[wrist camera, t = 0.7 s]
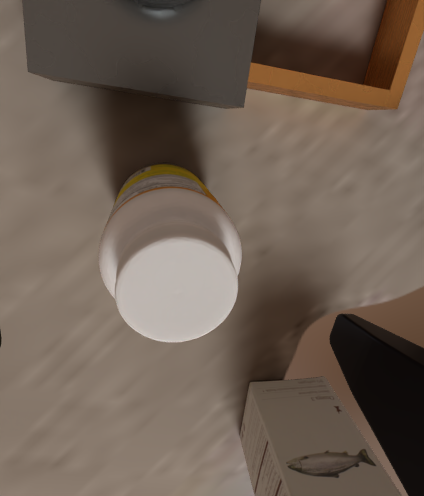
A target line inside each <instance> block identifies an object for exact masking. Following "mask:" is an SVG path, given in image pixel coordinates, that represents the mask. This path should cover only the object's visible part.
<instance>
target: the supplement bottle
mask: <svg viewBox="0 0 424 496" xmlns="http://www.w3.org/2000/svg"><path fill="white" fill-rule="evenodd" d="M241 259H242V248H241V241H240V237H239V234H238V232H237V229H236V227H235V225H234V223H233V222H232V220H231V219H230V217H229V216H228V214H227V213H226V212H225V210H224V209H223V208H222V207H221V205H220V204H219V203H218V201H217V200H216V198H214V197H213V195H212V194H211V193H210V192H209V190H208V189H207V188H206V187H205V186H204V184H203V183H202V182H201V181H200V179H199V178H198V177H197V176H196V175H195V174H193V173H192V172H190V171H189V170H187V169H185V168H183V167H181V166H178V165H175V164H170V163H156V164H151V165H148V166H145V167H143V168H141V169H139V170H137V171H136V172H134V173H133V174H132V175H131V176H130V177H129V178H128V179H127V180H126V182H125V183H124V184H123V186H122V188H121V190H120V192H119V194H118V196H117V198H116V201H115V204H114V206H113V209H112V211H111V214H110V217H109V219H108V221H107V224H106V226H105V229H104V232H103V234H102V238H101V241H100V247H99V268H100V273H101V275H102V279H103V281H104V284H105V285H106V287H107V289H108V291H109V292H110V293H111V295H112V296H113V297H114V298H115V300H116V304H117V307H118V310H119V312H120V314H121V316H122V317H123V319H124V320H125V321H126V323H127V324H128V325H129V326H130V327H131V328H133V329H134V330H135V331H137V332H138V333H140V334H142V335H143V336H145V337H148V338H150V339H154V340H157V341H163V342H182V341H188V340H192V339H195V338H198V337H201V336H203V335H205V334H207V333H209V332H210V331H212V330H213V329H215V328H216V327H217V326H218V325H219V324H221V323H222V322H223V321H224V320H225V318H226V317H227V316H228V314H229V313H230V311H231V310H232V308H233V306H234V303H235V301H236V297H237V293H238V278H237V276H238V274H239V270H240V266H241Z"/></svg>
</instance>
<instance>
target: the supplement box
mask: <svg viewBox="0 0 424 496" xmlns="http://www.w3.org/2000/svg"><path fill="white" fill-rule="evenodd" d="M240 440H241V444H242V448H243V452H244V455H245V459H246V463H247V467H248V471H249V475H250V479H251V483H252V487H253V491H254V494H255V496H402V495H401V494H400V492H399V490H398V489H397V487H396V486H395V484H394V483H393V481H392V479H391V478H390V476H389V475H388V473H387V472H386V470H385V469H384V467H383V465H382V464H381V463H380V461H379V460H378V458H377V456H376V455H375V454H374V452H373V450H372V449H371V447H370V446H369V444H368V443H367V441H366V440H365V438H364V437H363V435H362V434H361V432H360V430H359V429H358V427H357V426H356V424H355V423H354V421H353V420H352V418H351V416H350V415H349V413H348V412H347V410H346V409H345V407H344V406H343V404H342V403H341V401H340V399H339V398H338V396H337V395H336V393H335V392H334V390H333V389H332V387H331V386H330V384H329V382H328V381H327V379H326V378H325V377H324V376H321V377H316V378H306V379H295V380H280V381H263V382H250V385H249V389H248V394H247V400H246V406H245V410H244V416H243V421H242V427H241V432H240Z"/></svg>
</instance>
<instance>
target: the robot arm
mask: <svg viewBox="0 0 424 496" xmlns="http://www.w3.org/2000/svg"><path fill="white" fill-rule="evenodd" d="M330 344H331V347H332V349H333V351H334V354H335V356H336V358H337V360H338V363H339V365H340V367H341V370H342V372H343V374H344V376H345V379H346V381H347V383H348V385H349V388H350V390H351V392H352V394H353V396H354V398H355V400H356V401H357V403H358V405H359V407H360V409H361V411H362V412H363V414H364V416H365V418H366V420H367V421H368V423H369V425H370V427H371V429H372V430H373V432H374V434H375V436H376V438H377V440H378V441H379V443H380V445H381V447H382V449H383V450H384V452H385V454H386V456H387V458H388V459H389V461H390V463H391V465H392V467H393V469H394V470H395V472H396V474H397V476H398V478H399V479H400V481H401V483H402V484H403V487H404V489H405V490H406V492H407V494H408V496H424V348H422V347H420V346H418V345H416V344H414V343H412V342H410V341H408V340H406V339H404V338H402V337H400V336H397V335H395V334H393V333H391V332H389V331H387V330H385V329H383V328H381V327H379V326H377V325H374V324H373V323H370V322H368V321H366V320H364V319H362V318H360V317H358V316H356V315H354V314H339V315H338V316H337V317H336V320H335V323H334V326H333V329H332V331H331V334H330ZM0 346H1V331H0Z"/></svg>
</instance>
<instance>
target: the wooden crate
mask: <svg viewBox="0 0 424 496" xmlns="http://www.w3.org/2000/svg"><path fill="white" fill-rule="evenodd" d="M22 2H23V14H24V27H25V40H26V53H27V66H28V72H30V73H33V74H36V75H39V76H41V77H44V78H47V79H50V80H53V81H59V82H65V83H71V84H78V85H84V86H90V87H96V88H102V89H108V90H114V91H121V92H127V93H133V94H139V95H145V96H151V97H158V98H164V99H170V100H176V101H182V102H188V103H194V104H201V105H207V106H213V107H219V108H225V109H229V108H244V102H245V96H246V90H247V88H249V89H255V90H260V91H266V92H271V93H277V94H283V95H288V96H294V97H299V98H305V99H310V100H316V101H321V102H327V103H332V104H338V105H343V106H349V107H354V108H360V109H366V110H387V109H397V108H398V105H399V102H400V99H401V96H402V93H403V90H404V87H405V84H406V81H407V78H408V75H409V72H410V69H411V67H412V64H413V61H414V58H415V55H416V52H417V49H418V46H419V43H420V40H421V37H422V34H423V31H424V0H387V3H386V6H385V10H384V13H383V17H382V20H381V24H380V27H379V31H378V34H377V37H376V41H375V44H374V48H373V51H372V55H371V58H370V62H369V65H368V69H367V72H366V76H365V79H364V83H363V85H361V84H356V83H351V82H346V81H341V80H336V79H331V78H326V77H321V76H316V75H311V74H306V73H301V72H296V71H291V70H286V69H281V68H276V67H271V66H266V65H261V64H256V63H251V59H252V52H253V46H254V40H255V34H256V28H257V22H258V15H259V9H260V3H261V0H22Z"/></svg>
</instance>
